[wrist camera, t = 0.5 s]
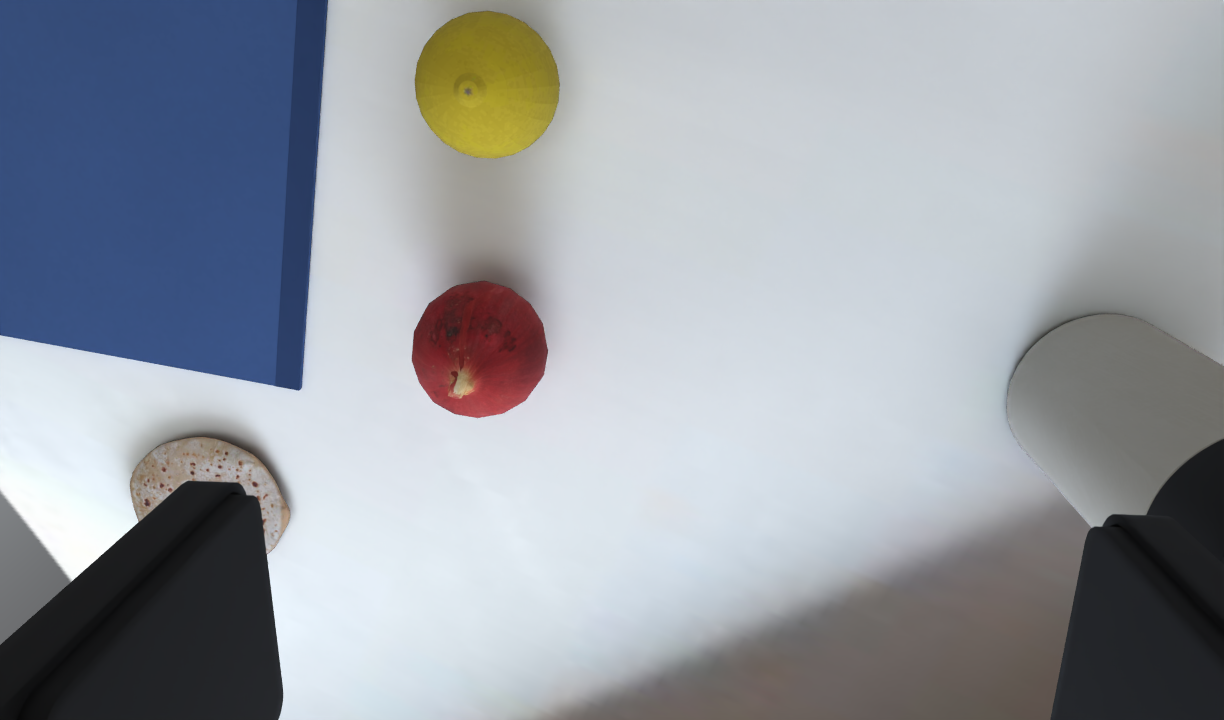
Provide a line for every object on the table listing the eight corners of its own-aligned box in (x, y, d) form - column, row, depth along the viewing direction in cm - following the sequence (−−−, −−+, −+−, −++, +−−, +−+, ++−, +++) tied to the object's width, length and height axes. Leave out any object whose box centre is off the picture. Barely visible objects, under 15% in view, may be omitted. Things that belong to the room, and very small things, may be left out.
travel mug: (994, 332, 42) (1213, 524, 25) (1176, 294, 41) (1532, 467, 24) (1014, 486, 45) (1226, 755, 28) (1186, 453, 44) (1517, 712, 27)
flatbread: (156, 568, 49) (146, 578, 48) (121, 436, 47) (110, 444, 46) (305, 562, 48) (298, 572, 47) (277, 428, 46) (269, 436, 45)
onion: (421, 277, 43) (368, 326, 36) (540, 255, 42) (512, 299, 35) (452, 392, 45) (408, 462, 37) (567, 372, 44) (546, 439, 37)
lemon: (422, 110, 41) (366, 124, 33) (475, -10, 39) (428, -24, 31) (534, 170, 41) (505, 197, 34) (591, 54, 39) (572, 55, 32)
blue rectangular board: (-44, -119, 39) (-50, -121, 38) (331, -50, 39) (328, -51, 38) (-20, 329, 45) (-25, 331, 45) (301, 388, 45) (298, 390, 45)
